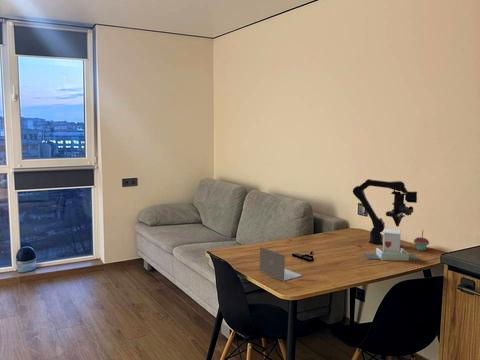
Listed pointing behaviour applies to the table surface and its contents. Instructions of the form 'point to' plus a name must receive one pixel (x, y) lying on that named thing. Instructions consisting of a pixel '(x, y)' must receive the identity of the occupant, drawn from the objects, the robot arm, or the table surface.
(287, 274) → the laptop
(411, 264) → the table surface
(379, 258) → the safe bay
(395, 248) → the supplement box
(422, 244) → the cupcake
